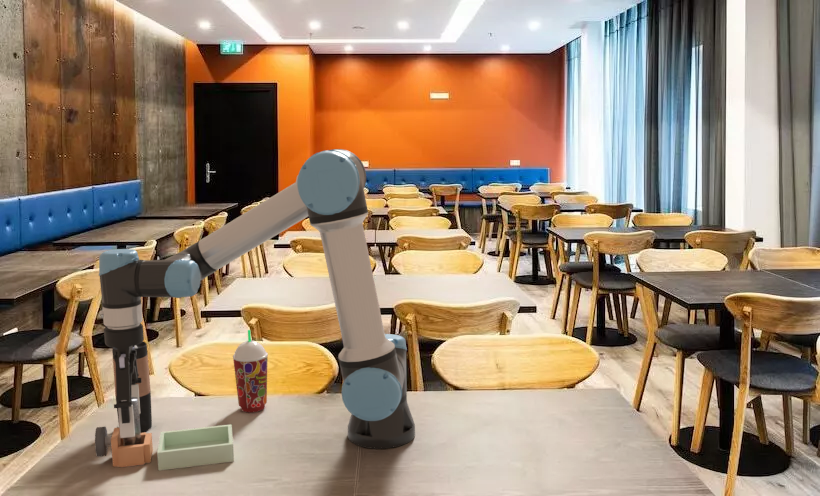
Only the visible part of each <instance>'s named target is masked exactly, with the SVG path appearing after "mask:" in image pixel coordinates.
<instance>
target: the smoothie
mask: <svg viewBox="0 0 820 496" xmlns="http://www.w3.org/2000/svg"><path fill="white" fill-rule="evenodd" d="M251 333H252V332H251V329H248V330H247V338H248V339H247V340H246V341H243V342H242V343H240V344H239V345H237V348H236V349H235V351H234V354H233V355H232V359H233V369H234V375H235V384H236V393H237V402H238V406H239V407H240V409H241V411H242V412H244V413H257V412H261V411H262V410H264V409H265V406H266V404H267V403H268V402H267V401H268V355H269V353H268V352H267V351H266V349H265V348H264V346H263V344H261V343H259V341H256V340H252V335H251Z"/></svg>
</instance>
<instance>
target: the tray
mask: <svg viewBox="0 0 820 496" xmlns="http://www.w3.org/2000/svg"><path fill="white" fill-rule="evenodd" d="M159 434H160V435H159V439H158V447H157V454H156V455H157V467H158V471H165V470H166V471H167V470H173V469H183V468H189V467H199V466H207V465H208V466H209V465H216V464H222V463H233V462H235V457H234V456H235V454H234V452H235V451H234V438H233V425H232V424H223V425H222V424H221V425H213V426H205V427H196V428H195V427H194V428H184V429H175V430H168V431H161V432H159Z"/></svg>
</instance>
